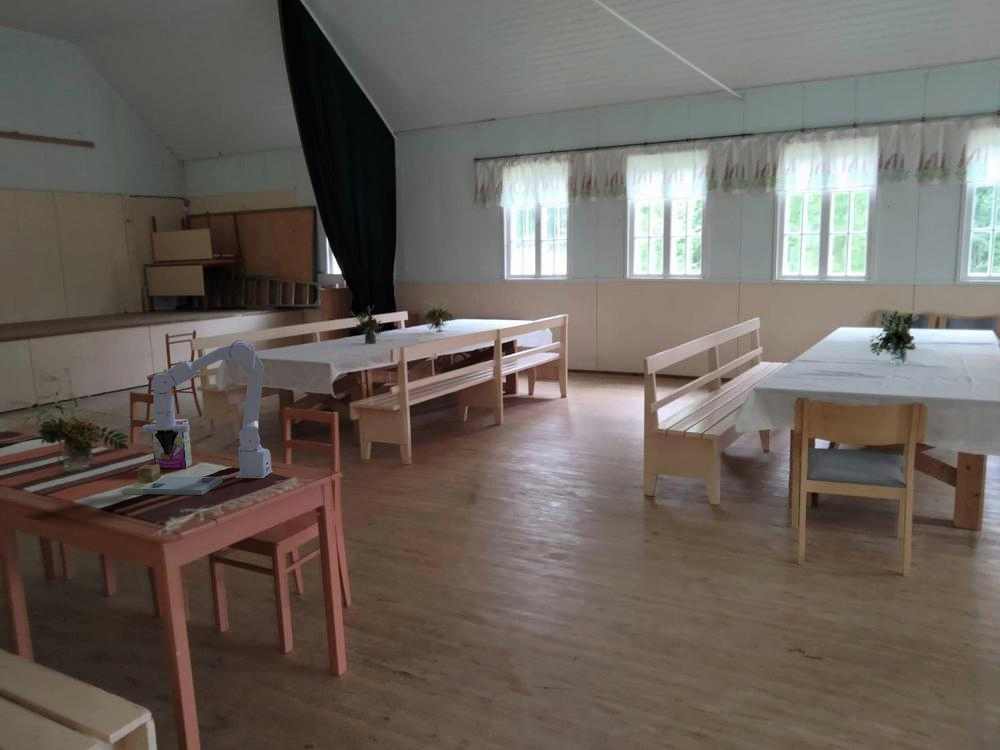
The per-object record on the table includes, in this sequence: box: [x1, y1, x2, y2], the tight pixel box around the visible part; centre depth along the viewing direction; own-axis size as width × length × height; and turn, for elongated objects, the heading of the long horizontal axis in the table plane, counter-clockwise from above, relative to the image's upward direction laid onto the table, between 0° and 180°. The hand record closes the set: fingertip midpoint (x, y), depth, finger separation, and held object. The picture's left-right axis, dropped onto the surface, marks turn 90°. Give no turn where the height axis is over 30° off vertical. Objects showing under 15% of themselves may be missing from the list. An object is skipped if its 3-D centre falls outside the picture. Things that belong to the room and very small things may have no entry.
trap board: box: [123, 475, 224, 496], centre depth 231 cm, size 25×13×2 cm, turn 83°
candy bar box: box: [150, 418, 193, 470], centre depth 254 cm, size 11×5×16 cm, turn 89°
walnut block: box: [137, 464, 161, 483], centre depth 234 cm, size 4×4×4 cm
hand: (168, 454), depth 234 cm, fingers closed
